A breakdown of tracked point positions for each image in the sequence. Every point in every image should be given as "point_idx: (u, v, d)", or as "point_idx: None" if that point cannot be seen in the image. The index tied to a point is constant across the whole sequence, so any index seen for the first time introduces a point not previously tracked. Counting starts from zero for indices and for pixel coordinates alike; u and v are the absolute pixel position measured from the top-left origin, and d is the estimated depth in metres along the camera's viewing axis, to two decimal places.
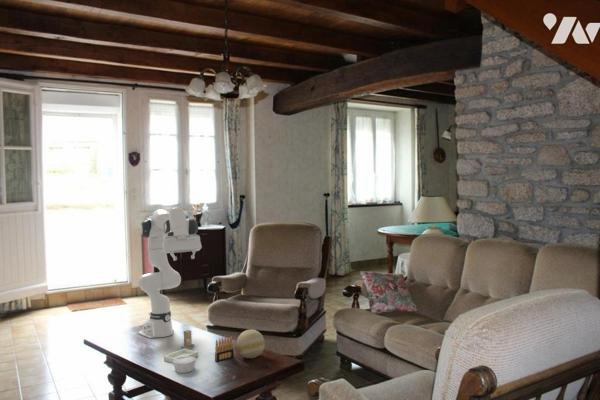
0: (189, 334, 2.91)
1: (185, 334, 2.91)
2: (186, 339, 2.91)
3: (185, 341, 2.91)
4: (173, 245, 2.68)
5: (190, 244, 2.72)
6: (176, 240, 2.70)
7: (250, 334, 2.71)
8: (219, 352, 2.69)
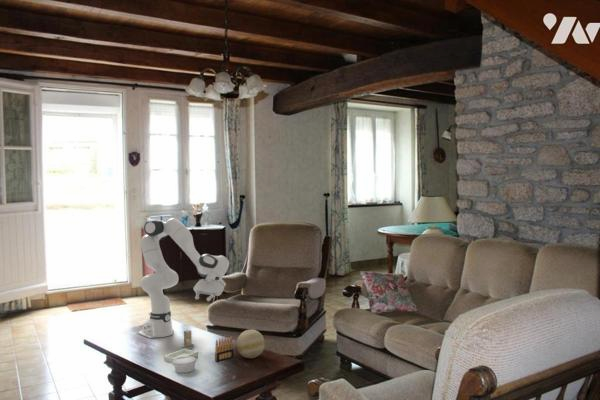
0: (189, 334, 2.91)
1: (185, 334, 2.91)
2: (186, 339, 2.91)
3: (185, 341, 2.91)
4: None
5: None
6: None
7: (250, 334, 2.71)
8: (219, 352, 2.69)
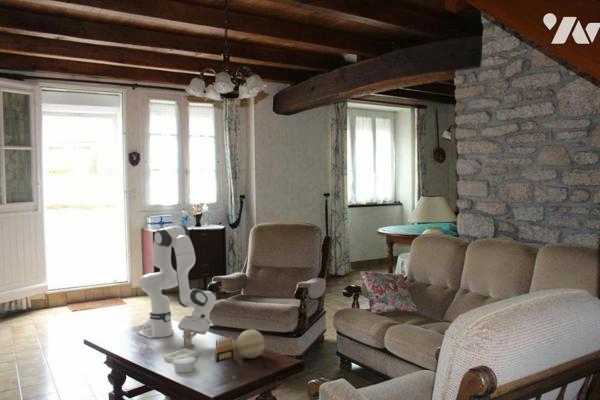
0: (189, 334, 2.91)
1: (185, 334, 2.91)
2: (186, 339, 2.91)
3: (185, 341, 2.91)
4: None
5: None
6: None
7: (250, 334, 2.71)
8: (219, 352, 2.69)
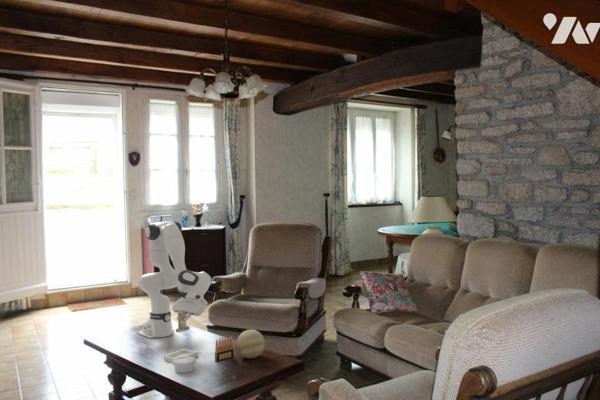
0: (184, 315, 2.77)
1: (179, 315, 2.76)
2: (181, 320, 2.76)
3: (179, 323, 2.76)
4: None
5: None
6: None
7: (250, 334, 2.71)
8: (219, 352, 2.69)
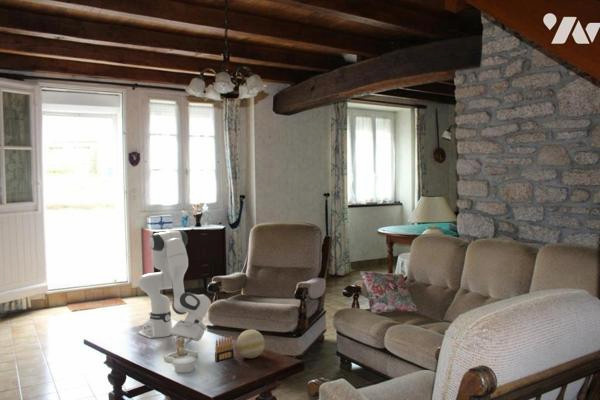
0: (182, 342, 2.75)
1: (178, 342, 2.74)
2: (179, 347, 2.74)
3: (178, 349, 2.75)
4: None
5: None
6: None
7: (250, 334, 2.71)
8: (219, 352, 2.69)
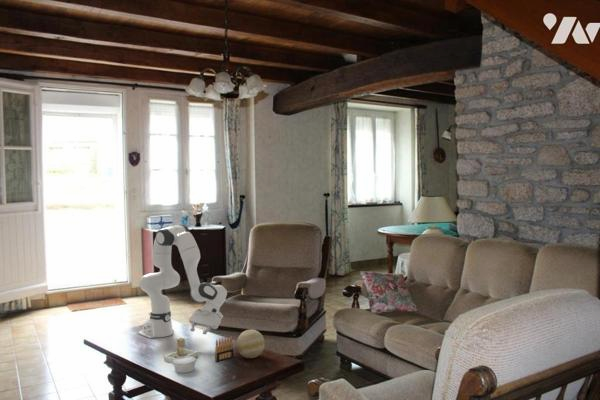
0: (182, 342, 2.75)
1: (178, 342, 2.74)
2: (179, 347, 2.74)
3: (178, 349, 2.75)
4: None
5: None
6: None
7: (250, 334, 2.71)
8: (219, 352, 2.69)
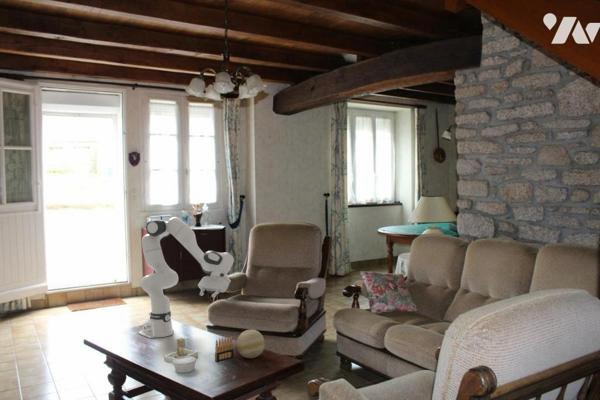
0: (182, 342, 2.75)
1: (178, 342, 2.74)
2: (179, 347, 2.74)
3: (178, 349, 2.75)
4: None
5: None
6: None
7: (250, 334, 2.71)
8: (219, 352, 2.69)
